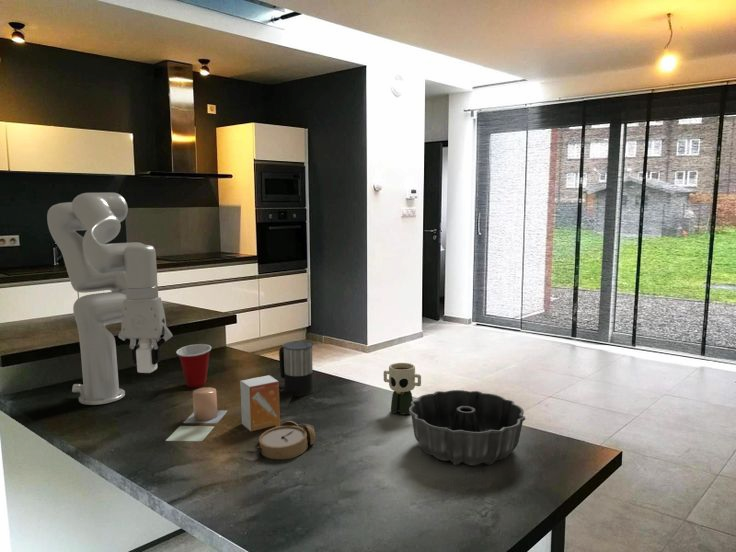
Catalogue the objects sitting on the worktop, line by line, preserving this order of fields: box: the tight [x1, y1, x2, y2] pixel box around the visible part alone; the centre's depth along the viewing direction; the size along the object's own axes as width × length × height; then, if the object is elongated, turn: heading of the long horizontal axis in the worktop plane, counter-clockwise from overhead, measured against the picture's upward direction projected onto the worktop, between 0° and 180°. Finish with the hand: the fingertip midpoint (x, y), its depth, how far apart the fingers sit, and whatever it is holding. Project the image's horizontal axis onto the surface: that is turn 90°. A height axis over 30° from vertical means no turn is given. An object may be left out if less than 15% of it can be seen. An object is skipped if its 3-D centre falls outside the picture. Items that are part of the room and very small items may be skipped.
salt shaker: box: [136, 339, 158, 374], centre depth 150 cm, size 4×4×10 cm
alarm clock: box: [255, 420, 318, 460], centre depth 138 cm, size 11×5×15 cm
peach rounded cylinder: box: [192, 386, 218, 421], centre depth 154 cm, size 6×6×7 cm
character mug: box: [383, 362, 422, 415], centre depth 158 cm, size 11×7×13 cm, turn 66°
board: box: [165, 409, 228, 442], centre depth 149 cm, size 14×22×2 cm, turn 176°
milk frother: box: [278, 340, 315, 397], centre depth 175 cm, size 14×16×15 cm
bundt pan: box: [408, 389, 526, 466], centre depth 135 cm, size 26×26×10 cm
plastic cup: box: [175, 343, 212, 388], centre depth 185 cm, size 11×11×12 cm
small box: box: [239, 375, 281, 432], centre depth 148 cm, size 8×6×13 cm
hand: (147, 362), depth 150 cm, fingers closed on salt shaker, 4 cm apart
